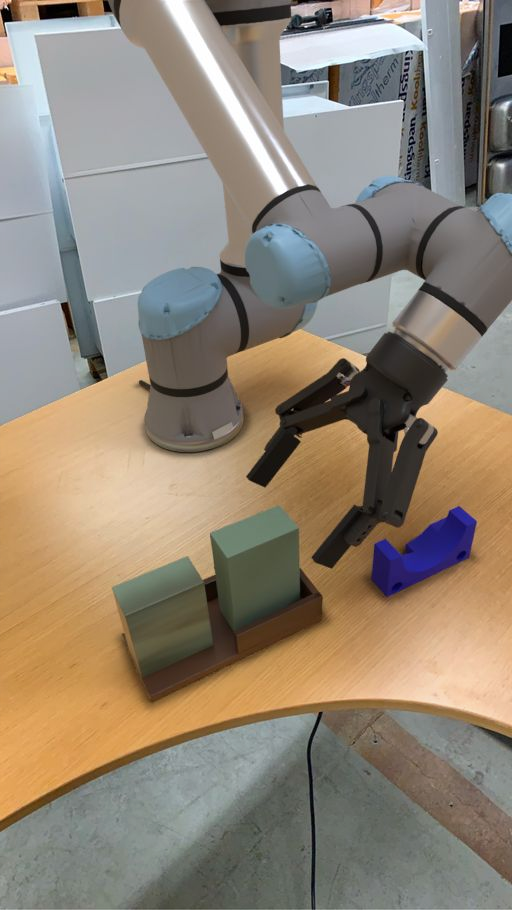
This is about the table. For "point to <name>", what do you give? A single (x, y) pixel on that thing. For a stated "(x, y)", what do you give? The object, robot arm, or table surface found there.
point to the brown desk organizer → (195, 625)
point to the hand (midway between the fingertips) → (285, 520)
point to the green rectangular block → (256, 566)
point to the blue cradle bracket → (424, 553)
